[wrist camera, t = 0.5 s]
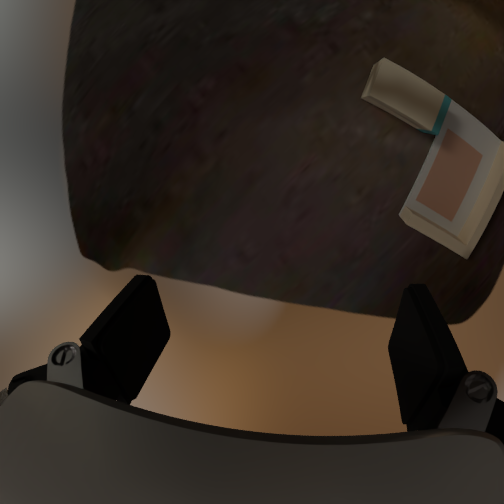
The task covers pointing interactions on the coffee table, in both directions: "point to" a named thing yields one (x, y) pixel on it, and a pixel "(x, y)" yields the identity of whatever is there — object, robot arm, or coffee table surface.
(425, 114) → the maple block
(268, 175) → the coffee table surface
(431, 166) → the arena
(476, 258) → the coffee table surface
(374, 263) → the coffee table surface
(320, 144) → the coffee table surface
